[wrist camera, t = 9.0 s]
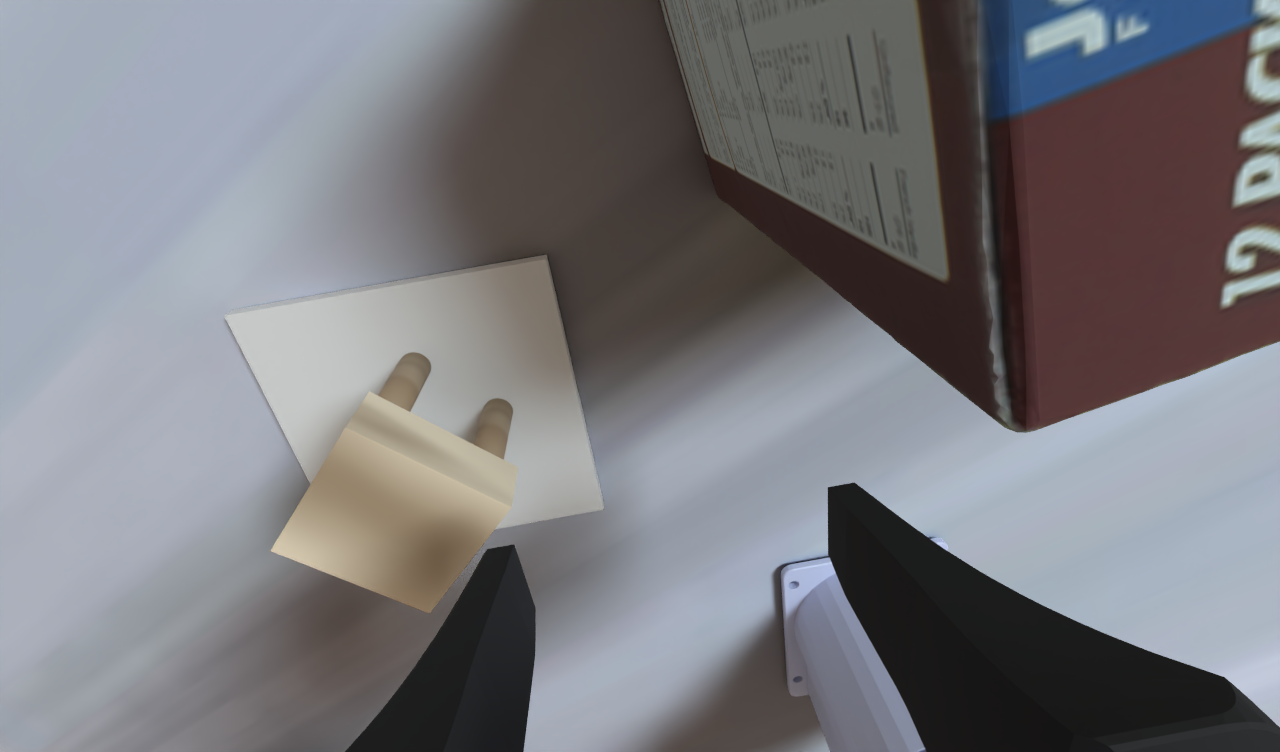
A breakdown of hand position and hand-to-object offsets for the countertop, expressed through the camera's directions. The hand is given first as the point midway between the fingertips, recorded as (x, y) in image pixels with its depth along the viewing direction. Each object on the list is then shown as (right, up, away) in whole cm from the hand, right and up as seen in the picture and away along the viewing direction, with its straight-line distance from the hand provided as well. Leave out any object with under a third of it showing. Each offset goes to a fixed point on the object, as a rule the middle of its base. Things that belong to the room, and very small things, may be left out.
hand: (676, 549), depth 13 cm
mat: (-9, +2, +10) cm, 13 cm away
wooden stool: (-9, +2, +9) cm, 13 cm away
